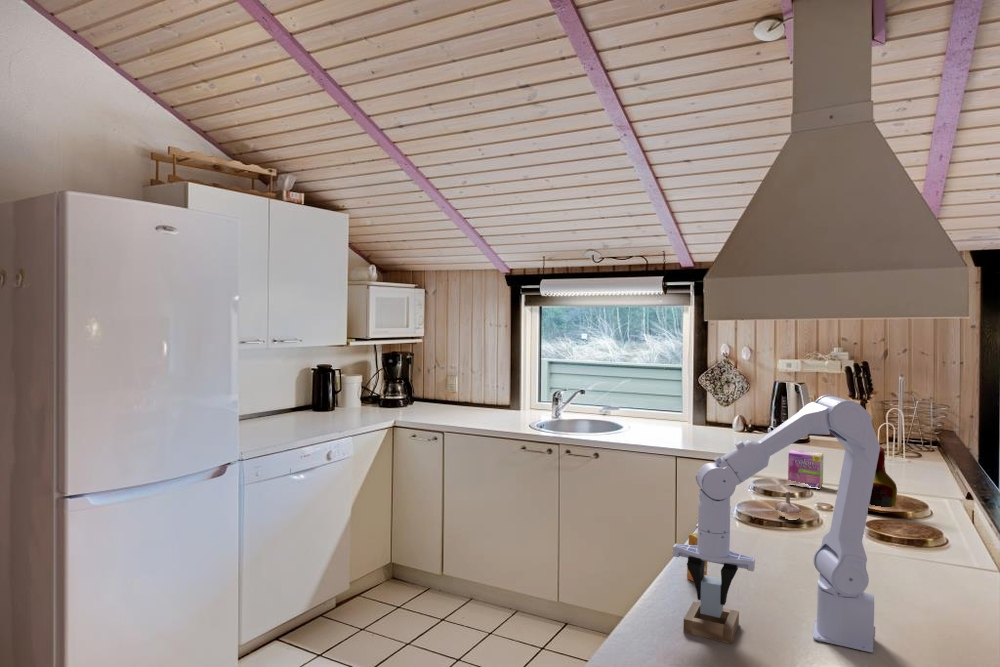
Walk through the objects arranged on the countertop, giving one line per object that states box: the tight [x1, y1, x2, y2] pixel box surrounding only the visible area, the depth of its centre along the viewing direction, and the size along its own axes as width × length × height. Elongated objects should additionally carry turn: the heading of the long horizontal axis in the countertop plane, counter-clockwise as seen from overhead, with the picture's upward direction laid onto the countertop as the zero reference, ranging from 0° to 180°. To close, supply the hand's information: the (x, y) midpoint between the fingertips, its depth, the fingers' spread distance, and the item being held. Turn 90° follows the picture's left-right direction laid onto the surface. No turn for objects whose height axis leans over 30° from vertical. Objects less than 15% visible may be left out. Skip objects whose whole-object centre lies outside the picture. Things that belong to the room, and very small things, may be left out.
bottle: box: [869, 446, 898, 507], centre depth 197 cm, size 12×6×20 cm, turn 50°
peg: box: [699, 575, 724, 618], centre depth 122 cm, size 4×4×6 cm
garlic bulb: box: [774, 491, 802, 513], centre depth 189 cm, size 8×7×8 cm
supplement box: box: [686, 532, 708, 583], centre depth 144 cm, size 3×3×10 cm
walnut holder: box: [682, 601, 740, 644], centre depth 122 cm, size 8×8×2 cm
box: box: [787, 449, 824, 489], centre depth 226 cm, size 10×6×12 cm, turn 55°
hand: (711, 600), depth 122 cm, fingers closed on peg, 3 cm apart
